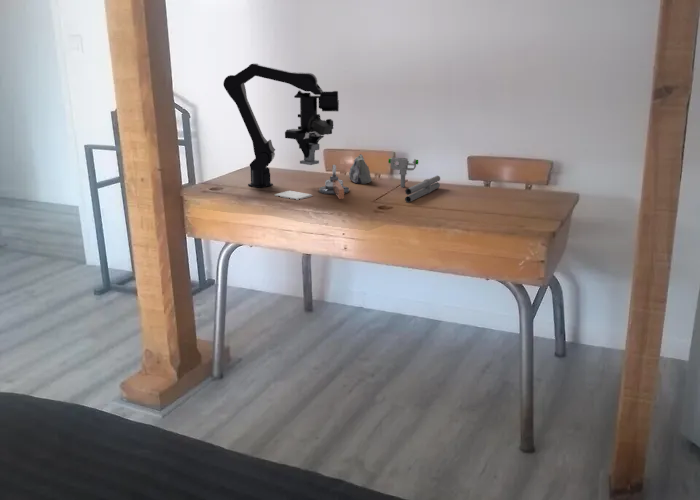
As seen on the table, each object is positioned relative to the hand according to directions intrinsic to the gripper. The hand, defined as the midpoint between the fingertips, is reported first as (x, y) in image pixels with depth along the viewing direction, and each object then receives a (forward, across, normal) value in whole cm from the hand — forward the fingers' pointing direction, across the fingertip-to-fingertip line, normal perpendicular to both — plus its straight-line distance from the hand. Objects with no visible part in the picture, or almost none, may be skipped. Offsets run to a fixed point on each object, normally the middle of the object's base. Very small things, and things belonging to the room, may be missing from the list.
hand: (309, 156), depth 243 cm
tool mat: (+10, -15, -6) cm, 19 cm away
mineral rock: (+11, +20, -8) cm, 24 cm away
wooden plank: (+9, -6, -17) cm, 20 cm away
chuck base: (+10, -1, -12) cm, 16 cm away
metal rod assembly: (+11, +14, -38) cm, 42 cm away
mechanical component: (+11, +20, -26) cm, 34 cm away
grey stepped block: (+2, 0, 0) cm, 2 cm away
